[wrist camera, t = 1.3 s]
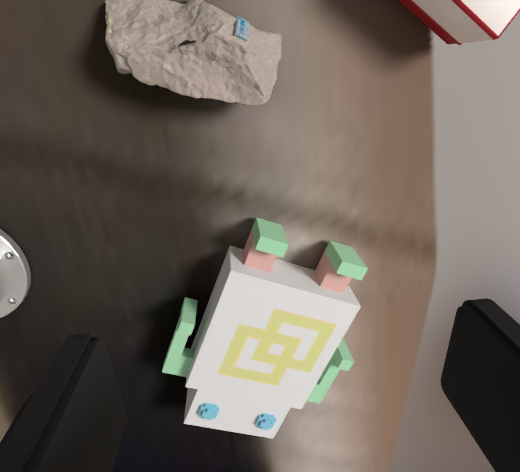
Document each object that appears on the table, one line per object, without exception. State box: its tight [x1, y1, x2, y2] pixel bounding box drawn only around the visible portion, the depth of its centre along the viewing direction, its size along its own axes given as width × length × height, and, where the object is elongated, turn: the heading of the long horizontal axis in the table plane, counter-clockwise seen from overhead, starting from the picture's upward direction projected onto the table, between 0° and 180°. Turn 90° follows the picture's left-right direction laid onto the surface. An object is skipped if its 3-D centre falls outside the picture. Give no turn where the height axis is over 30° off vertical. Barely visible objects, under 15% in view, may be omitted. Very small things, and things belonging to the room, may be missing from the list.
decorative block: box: [162, 217, 368, 438], centre depth 41 cm, size 26×6×20 cm
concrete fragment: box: [105, 0, 282, 105], centre depth 28 cm, size 7×14×6 cm, turn 75°
